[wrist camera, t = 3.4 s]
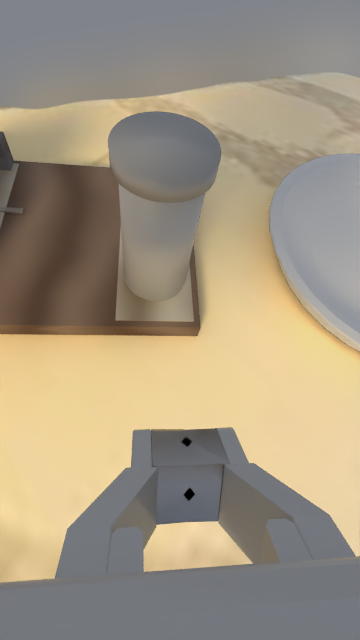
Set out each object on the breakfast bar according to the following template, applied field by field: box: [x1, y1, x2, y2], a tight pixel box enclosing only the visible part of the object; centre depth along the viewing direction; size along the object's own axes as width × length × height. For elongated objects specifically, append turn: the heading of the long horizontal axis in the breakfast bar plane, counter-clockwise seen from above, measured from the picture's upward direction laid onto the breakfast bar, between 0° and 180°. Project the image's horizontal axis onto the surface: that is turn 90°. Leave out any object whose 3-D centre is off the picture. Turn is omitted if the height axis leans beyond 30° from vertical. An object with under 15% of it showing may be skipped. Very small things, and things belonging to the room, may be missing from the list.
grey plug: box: [108, 112, 221, 301], centre depth 22 cm, size 6×6×11 cm
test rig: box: [0, 132, 200, 336], centre depth 27 cm, size 23×18×4 cm
